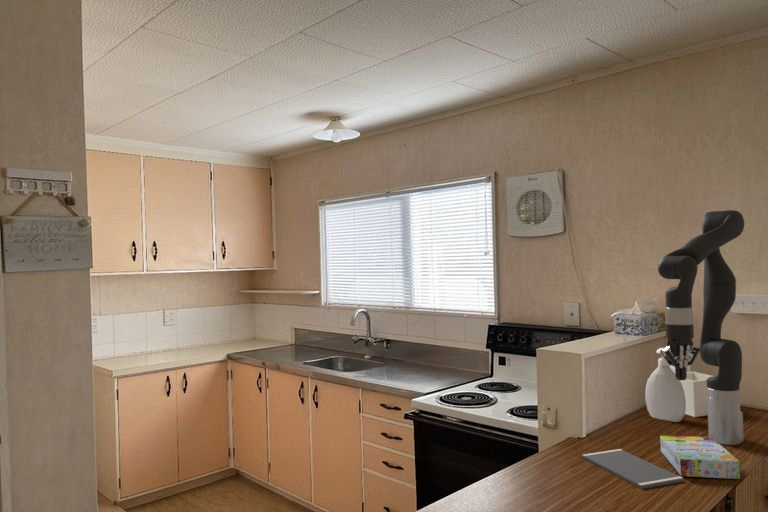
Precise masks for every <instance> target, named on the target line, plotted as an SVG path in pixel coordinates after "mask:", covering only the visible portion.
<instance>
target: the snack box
mask: <svg viewBox="0 0 768 512" xmlns="http://www.w3.org/2000/svg"><path fill="white" fill-rule="evenodd" d="M659 436H660V437H659V438H660V441H659V442H660V453H661V454H662V455H663V456H664V457H665V458H666V459H667V461H668V462H669V463H670V464H671V465H672V467H673V468H674V469H675V470H676V471H677V473H678V474H679V475H680V476H681V477H692V478H710V479H731V480H740V478H741V474H740V471H741V470H740V469H741V468H740V460H738V459H737V458H736V457H735V456H734V455H732V454H731V452H729V451H728V450H727V449H726V448H724V446H723V445H722V444H720V443H718V442H717V441H715V440H714V439H713V438H712V437H709V436H688V435H687V436H684V435H683V436H681V435H680V436H679V435H659Z"/></svg>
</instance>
